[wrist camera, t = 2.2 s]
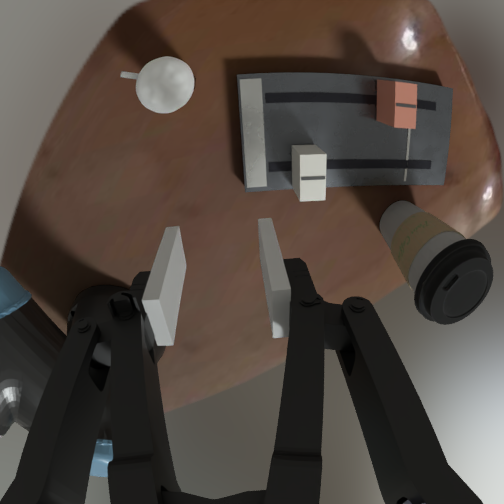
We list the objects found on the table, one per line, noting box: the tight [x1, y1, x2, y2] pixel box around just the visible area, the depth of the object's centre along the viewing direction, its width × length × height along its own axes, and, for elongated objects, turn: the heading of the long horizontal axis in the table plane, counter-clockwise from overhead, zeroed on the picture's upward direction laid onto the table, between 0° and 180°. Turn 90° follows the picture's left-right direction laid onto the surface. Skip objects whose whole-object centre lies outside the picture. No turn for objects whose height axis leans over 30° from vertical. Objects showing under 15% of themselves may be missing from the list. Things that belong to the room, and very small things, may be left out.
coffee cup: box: [380, 200, 493, 325], centre depth 31 cm, size 9×9×15 cm
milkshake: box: [120, 56, 196, 113], centre depth 24 cm, size 4×5×10 cm
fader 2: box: [376, 80, 417, 129], centre depth 26 cm, size 2×4×4 cm, turn 3°
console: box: [237, 73, 453, 192], centre depth 31 cm, size 24×12×2 cm, turn 93°
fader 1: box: [292, 144, 327, 202], centre depth 29 cm, size 2×4×4 cm, turn 3°
